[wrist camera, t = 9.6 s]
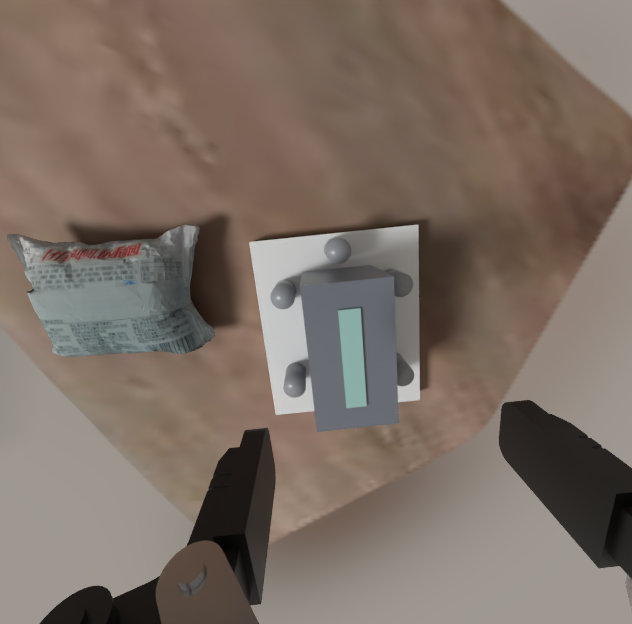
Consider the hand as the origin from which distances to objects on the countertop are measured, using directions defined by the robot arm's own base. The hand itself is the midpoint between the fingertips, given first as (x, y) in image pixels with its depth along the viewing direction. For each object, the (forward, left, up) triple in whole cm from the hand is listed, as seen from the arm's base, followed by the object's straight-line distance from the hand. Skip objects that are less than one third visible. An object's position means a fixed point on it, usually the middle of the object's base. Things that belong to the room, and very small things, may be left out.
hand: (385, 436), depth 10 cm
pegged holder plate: (0, 0, -14) cm, 14 cm away
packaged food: (-4, -15, -14) cm, 22 cm away
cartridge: (0, 0, -13) cm, 13 cm away
